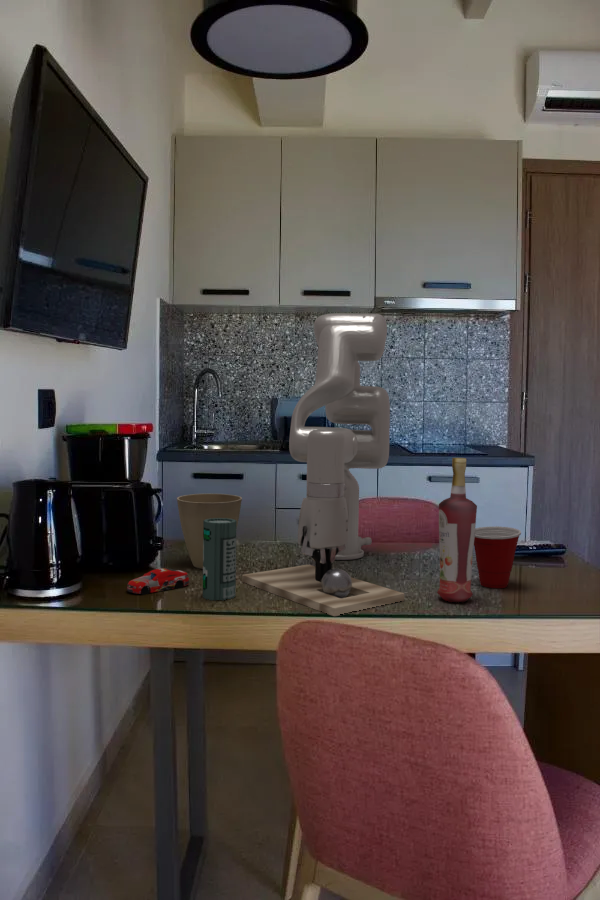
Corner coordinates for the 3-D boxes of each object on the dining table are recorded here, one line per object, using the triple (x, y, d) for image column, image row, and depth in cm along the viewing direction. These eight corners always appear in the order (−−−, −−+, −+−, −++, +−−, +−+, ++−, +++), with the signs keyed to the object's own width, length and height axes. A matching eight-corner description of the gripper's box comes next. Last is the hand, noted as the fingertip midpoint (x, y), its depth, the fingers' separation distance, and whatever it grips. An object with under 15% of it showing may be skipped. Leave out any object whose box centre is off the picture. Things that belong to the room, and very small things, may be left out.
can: (216, 590, 146) (216, 517, 145) (240, 595, 143) (241, 520, 142) (197, 597, 141) (197, 521, 140) (222, 602, 138) (223, 524, 137)
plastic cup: (456, 581, 158) (458, 526, 157) (497, 577, 162) (499, 524, 161) (487, 593, 148) (489, 535, 147) (530, 589, 152) (532, 532, 151)
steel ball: (356, 600, 139) (345, 598, 145) (356, 568, 140) (345, 568, 146) (327, 600, 137) (317, 598, 143) (326, 568, 138) (317, 568, 144)
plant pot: (172, 560, 173) (172, 494, 172) (233, 557, 178) (233, 492, 177) (181, 574, 159) (182, 502, 158) (247, 571, 164) (248, 501, 162)
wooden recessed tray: (242, 581, 154) (242, 574, 154) (308, 570, 165) (308, 564, 165) (334, 616, 130) (334, 608, 130) (404, 601, 141) (404, 593, 141)
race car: (134, 598, 141) (134, 578, 140) (121, 592, 145) (121, 572, 145) (193, 587, 149) (193, 568, 149) (179, 582, 153) (179, 563, 153)
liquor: (480, 604, 140) (485, 459, 138) (444, 605, 138) (449, 459, 137) (463, 594, 147) (468, 456, 145) (430, 595, 146) (434, 456, 144)
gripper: (340, 487, 153) (338, 572, 154) (284, 491, 144) (282, 582, 145) (365, 490, 147) (362, 580, 148) (307, 495, 138) (306, 590, 139)
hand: (323, 581), depth 146 cm, fingers closed
